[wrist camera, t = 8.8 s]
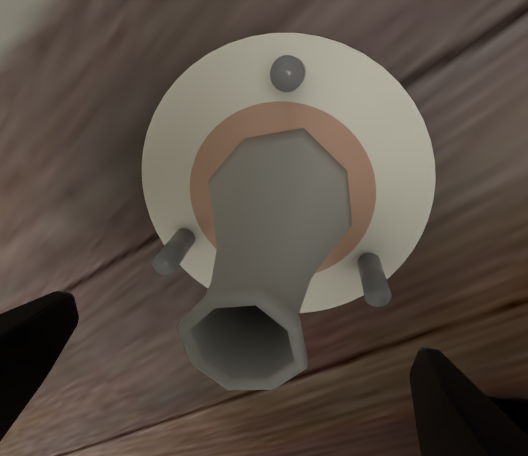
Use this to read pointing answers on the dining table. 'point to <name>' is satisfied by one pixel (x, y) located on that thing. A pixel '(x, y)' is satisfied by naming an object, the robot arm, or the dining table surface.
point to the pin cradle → (284, 119)
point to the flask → (265, 258)
